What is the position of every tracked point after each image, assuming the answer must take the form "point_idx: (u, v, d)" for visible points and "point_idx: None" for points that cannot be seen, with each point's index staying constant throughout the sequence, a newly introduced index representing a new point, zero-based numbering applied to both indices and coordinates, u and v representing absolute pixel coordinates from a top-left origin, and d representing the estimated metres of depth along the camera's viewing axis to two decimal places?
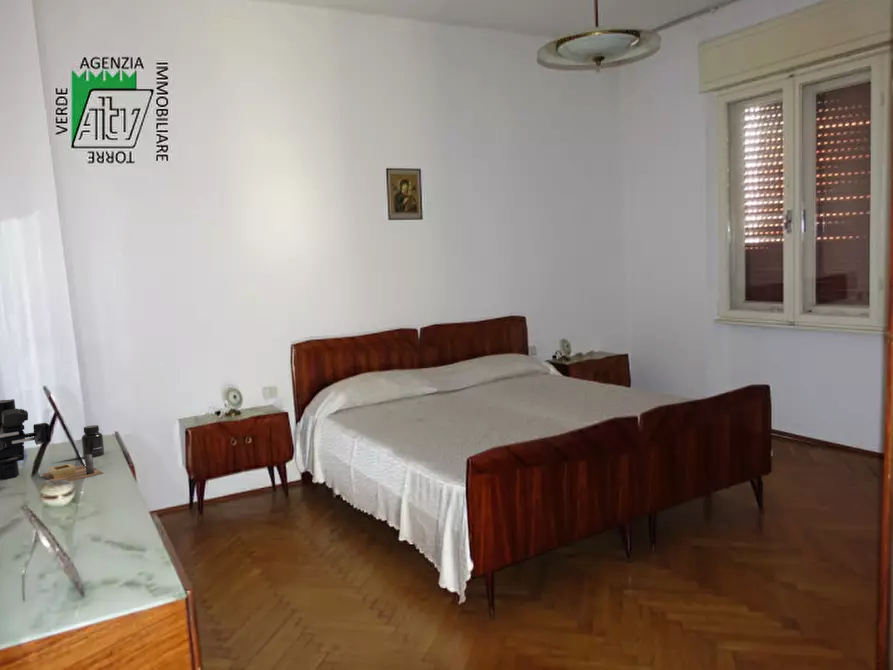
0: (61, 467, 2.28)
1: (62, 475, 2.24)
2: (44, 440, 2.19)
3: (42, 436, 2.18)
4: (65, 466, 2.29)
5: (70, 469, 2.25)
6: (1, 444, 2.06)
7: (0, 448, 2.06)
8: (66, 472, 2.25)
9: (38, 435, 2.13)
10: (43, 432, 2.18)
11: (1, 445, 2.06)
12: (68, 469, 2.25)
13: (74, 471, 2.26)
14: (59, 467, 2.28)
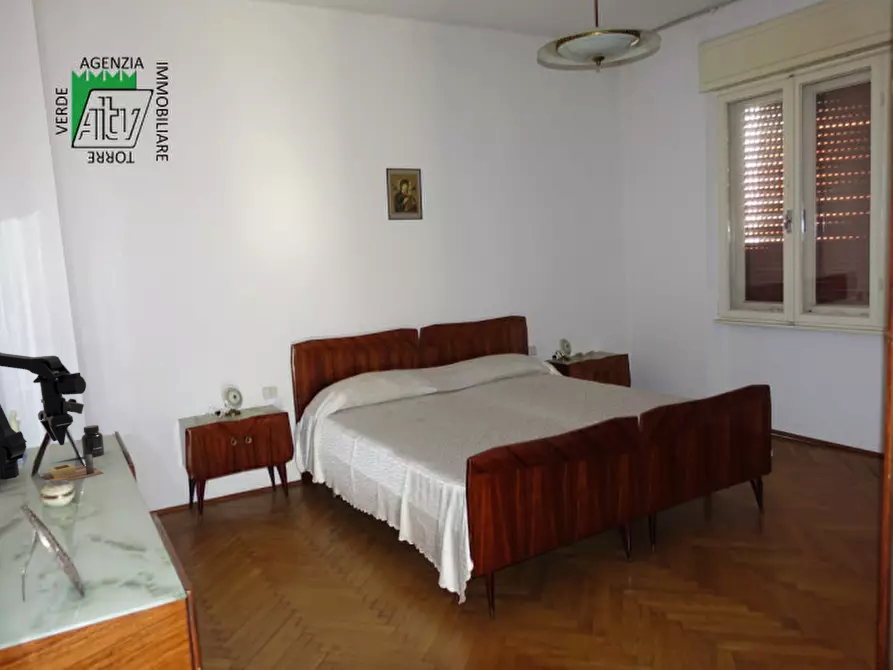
0: (61, 467, 2.28)
1: (62, 475, 2.24)
2: None
3: None
4: (65, 466, 2.29)
5: (70, 469, 2.25)
6: (63, 442, 2.22)
7: (58, 440, 2.21)
8: (66, 472, 2.25)
9: None
10: None
11: (62, 442, 2.22)
12: (68, 469, 2.25)
13: (74, 471, 2.26)
14: (59, 467, 2.28)
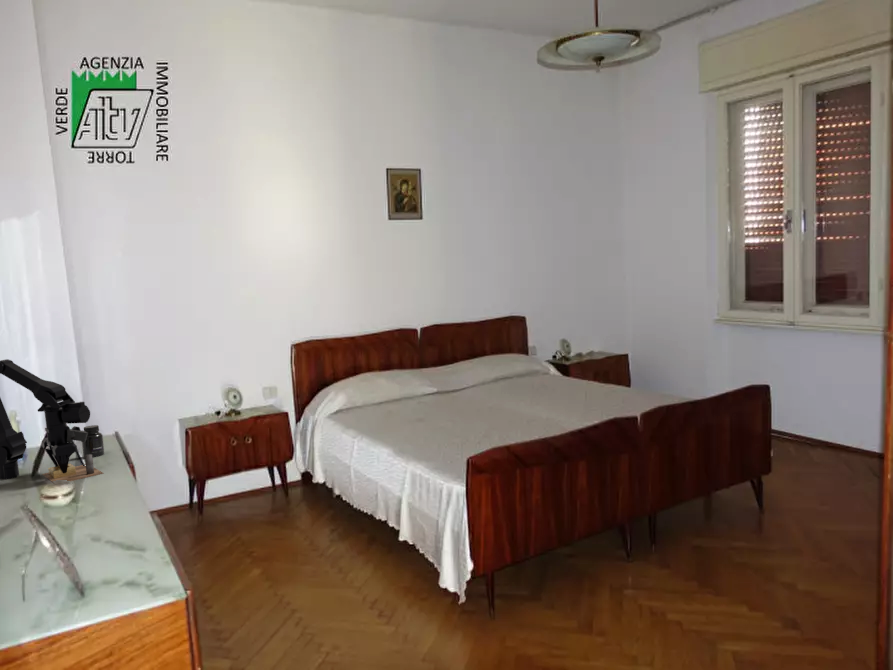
0: None
1: (62, 475, 2.24)
2: None
3: None
4: None
5: (70, 469, 2.25)
6: (65, 470, 2.24)
7: (61, 469, 2.23)
8: None
9: None
10: None
11: (64, 470, 2.24)
12: (68, 469, 2.25)
13: (74, 471, 2.26)
14: (59, 467, 2.28)
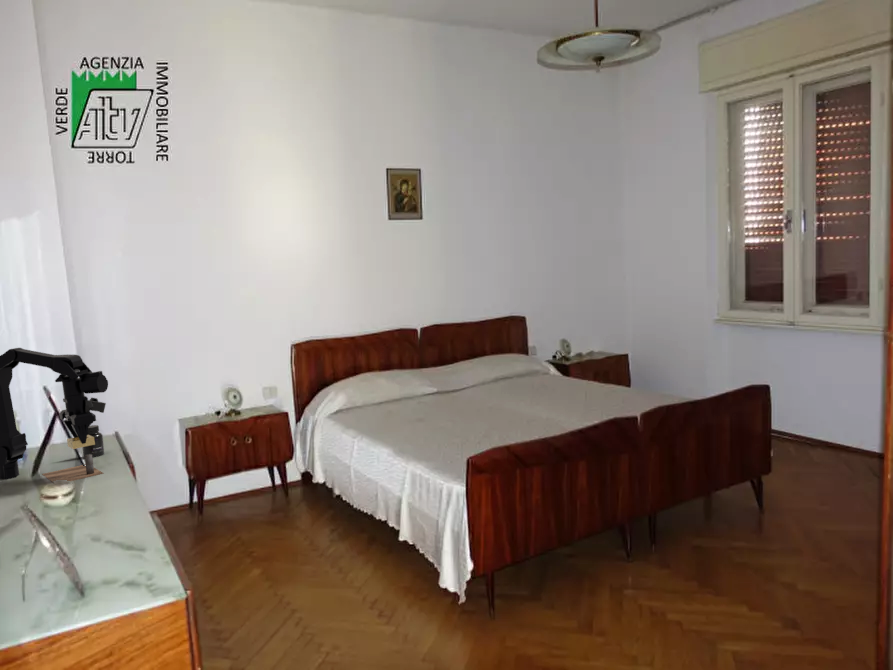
0: None
1: (81, 445, 2.22)
2: None
3: None
4: None
5: (89, 439, 2.24)
6: (84, 440, 2.22)
7: (80, 439, 2.21)
8: None
9: None
10: None
11: (83, 440, 2.22)
12: (87, 439, 2.23)
13: (93, 442, 2.24)
14: (78, 438, 2.26)
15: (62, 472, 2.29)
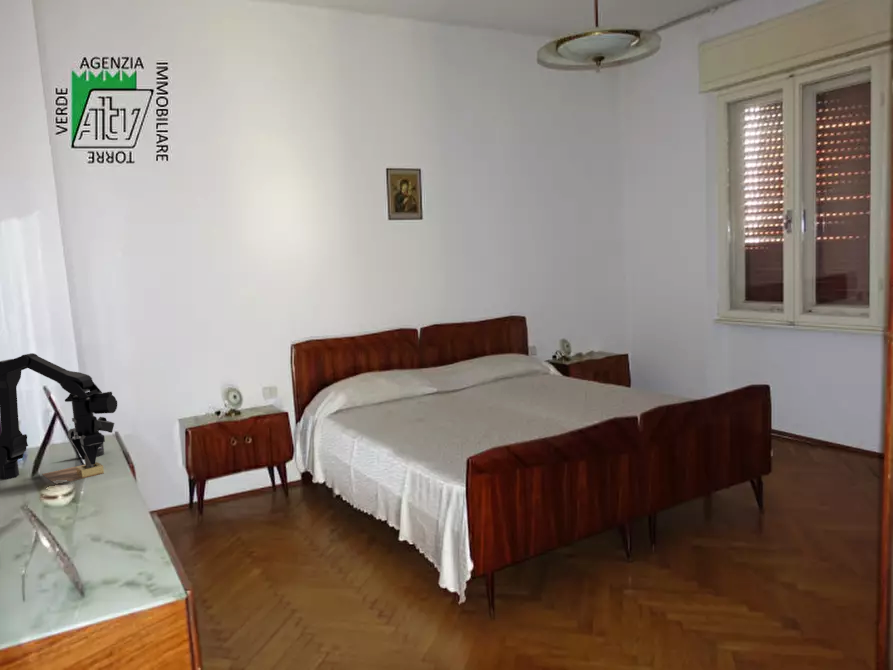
0: None
1: (90, 474, 2.23)
2: None
3: None
4: (93, 465, 2.28)
5: (98, 468, 2.24)
6: (94, 461, 2.22)
7: (89, 460, 2.21)
8: (94, 471, 2.24)
9: None
10: None
11: (93, 461, 2.22)
12: (96, 468, 2.24)
13: (102, 470, 2.25)
14: None
15: (62, 472, 2.29)
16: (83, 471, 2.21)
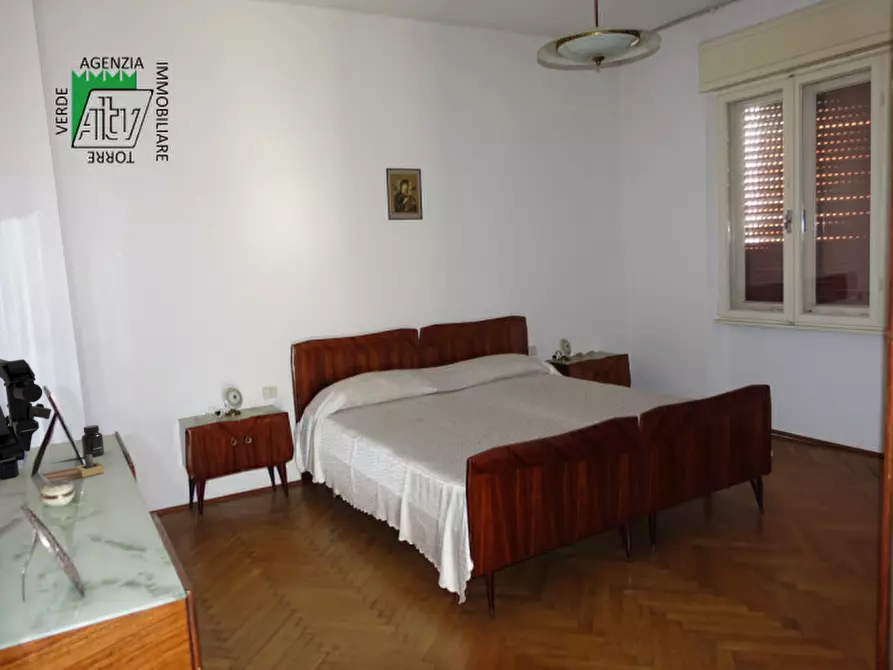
0: None
1: (90, 474, 2.23)
2: None
3: None
4: (93, 465, 2.28)
5: (98, 468, 2.24)
6: (28, 448, 2.16)
7: (23, 447, 2.15)
8: (94, 471, 2.24)
9: None
10: None
11: (27, 448, 2.16)
12: (96, 468, 2.24)
13: (102, 470, 2.25)
14: None
15: (62, 472, 2.29)
16: (83, 471, 2.21)
